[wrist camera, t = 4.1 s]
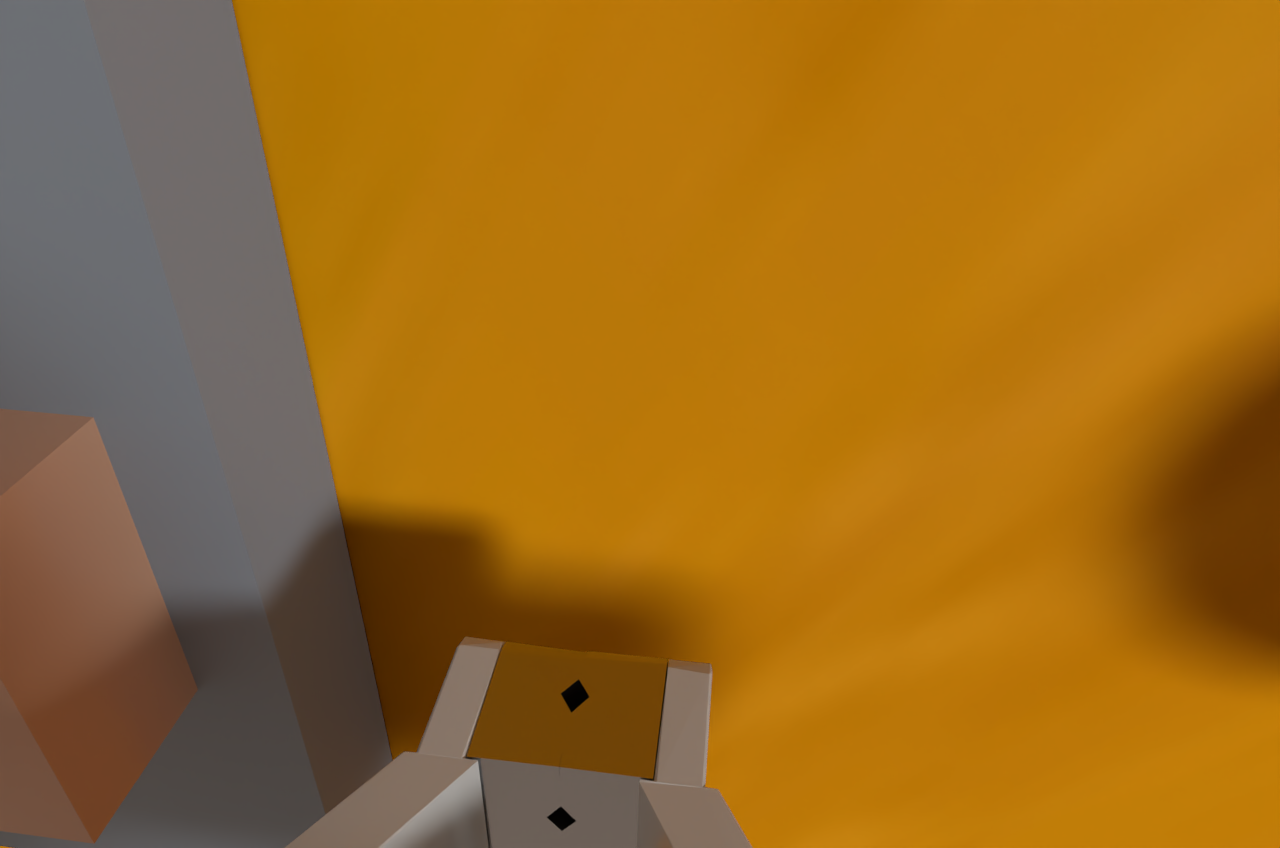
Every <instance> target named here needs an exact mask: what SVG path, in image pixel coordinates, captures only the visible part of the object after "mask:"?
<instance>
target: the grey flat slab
mask: <svg viewBox="0 0 1280 848" xmlns="http://www.w3.org/2000/svg"><path fill="white" fill-rule="evenodd" d="M0 409H10V410H21V411H32V412H42V413H53V414H64V415H75V416H86V417H94V420H95V423H96V425H97V428H98V430H99V433H100V436H101V438H102V441H103V443H104V446H105V449H106V451H107V454H108V456H109V459H110V462H111V464H112V467H113V470H114V472H115V475H116V477H117V480H118V483H119V485H120V488H121V490H122V493H123V496H124V498H125V501H126V503H127V506H128V509H129V511H130V514H131V516H132V519H133V522H134V524H135V527H136V529H137V532H138V535H139V537H140V540H141V542H142V545H143V548H144V550H145V553H146V555H147V558H148V561H149V563H150V566H151V569H152V571H153V574H154V576H155V579H156V582H157V584H158V587H159V589H160V592H161V595H162V597H163V600H164V602H165V605H166V608H167V610H168V613H169V615H170V618H171V621H172V623H173V626H174V628H175V631H176V634H177V636H178V639H179V641H180V644H181V647H182V649H183V652H184V654H185V657H186V660H187V662H188V665H189V667H190V670H191V673H192V675H193V678H194V681H195V683H196V686H197V688H198V690H197V692H196V693H195V695H194V696H193V698H192V699H191V701H190V702H189V704H188V705H187V707H186V708H185V710H184V711H183V713H182V714H181V716H180V717H179V718H178V720H177V721H176V723H175V724H174V726H173V727H172V729H171V730H170V732H169V733H168V735H167V736H166V738H165V739H164V741H163V742H162V744H161V745H160V747H159V748H158V750H157V751H156V753H155V754H154V756H153V757H152V759H151V760H150V762H149V763H148V765H147V766H146V768H145V769H144V771H143V772H142V774H141V775H140V777H139V778H138V780H137V781H136V782H135V784H134V785H133V787H132V788H131V790H130V791H129V793H128V794H127V796H126V797H125V799H124V800H123V802H122V803H121V805H120V806H119V808H118V809H117V811H116V812H115V814H114V815H113V817H112V818H111V820H110V821H109V823H108V824H107V826H106V827H105V829H104V830H103V832H102V833H101V835H100V836H99V838H98V839H97V841H96V842H95V844H93V843H85V842H78V841H70V840H63V839H56V838H48V837H41V836H33V835H26V834H19V833H11V832H4V831H0V846H6V847H13V848H285V847H286V846H287V845H289V844H290V843H291V842H292V841H294V840H295V839H296V838H297V837H298V836H300V835H301V834H302V833H303V832H305V831H306V830H307V829H308V828H310V827H311V826H312V825H313V824H315V823H316V822H317V821H318V820H320V819H321V818H322V817H323V816H324V815H326V814H327V813H328V812H329V811H331V810H332V809H333V808H334V807H336V806H337V805H338V804H339V803H341V802H342V801H343V800H344V799H346V798H347V797H348V796H349V795H350V794H352V793H353V792H354V791H355V790H357V789H358V788H359V787H360V786H362V785H363V784H364V783H365V782H367V781H368V780H369V779H370V778H371V777H373V776H374V775H375V774H376V773H378V772H379V771H380V770H381V769H383V768H384V767H385V766H386V765H388V764H389V763H390V762H391V761H393V760H392V756H391V751H390V746H389V742H388V737H387V732H386V727H385V723H384V718H383V713H382V708H381V704H380V699H379V694H378V690H377V685H376V680H375V675H374V671H373V666H372V661H371V656H370V652H369V647H368V642H367V638H366V633H365V628H364V623H363V619H362V614H361V609H360V604H359V600H358V595H357V590H356V586H355V581H354V576H353V571H352V567H351V562H350V557H349V552H348V548H347V543H346V538H345V533H344V529H343V524H342V519H341V515H340V510H339V505H338V500H337V496H336V491H335V486H334V481H333V477H332V472H331V467H330V463H329V458H328V453H327V448H326V444H325V439H324V434H323V429H322V425H321V420H320V415H319V411H318V406H317V401H316V396H315V392H314V387H313V382H312V377H311V373H310V368H309V363H308V359H307V354H306V349H305V344H304V340H303V335H302V330H301V325H300V321H299V316H298V311H297V307H296V302H295V297H294V292H293V288H292V283H291V278H290V273H289V269H288V264H287V259H286V255H285V250H284V245H283V240H282V236H281V231H280V226H279V221H278V217H277V212H276V207H275V203H274V198H273V193H272V188H271V184H270V179H269V174H268V169H267V165H266V160H265V155H264V151H263V146H262V141H261V136H260V132H259V127H258V122H257V117H256V113H255V108H254V103H253V99H252V94H251V89H250V84H249V80H248V75H247V70H246V65H245V61H244V56H243V51H242V47H241V42H240V37H239V32H238V28H237V23H236V18H235V13H234V9H233V4H232V0H0Z"/></svg>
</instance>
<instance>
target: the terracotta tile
mask: <svg viewBox="0 0 1280 848" xmlns="http://www.w3.org/2000/svg"><path fill="white" fill-rule="evenodd" d="M197 690H198V688H197V686H196V683H195V681H194V678H193V675H192V673H191V670H190V667H189V665H188V662H187V660H186V657H185V654H184V652H183V649H182V647H181V644H180V641H179V639H178V636H177V634H176V631H175V628H174V626H173V623H172V621H171V618H170V615H169V613H168V610H167V608H166V605H165V602H164V600H163V597H162V595H161V592H160V589H159V587H158V584H157V582H156V579H155V576H154V574H153V571H152V569H151V566H150V563H149V561H148V558H147V555H146V553H145V550H144V548H143V545H142V542H141V540H140V537H139V535H138V532H137V529H136V527H135V524H134V522H133V519H132V516H131V514H130V511H129V509H128V506H127V503H126V501H125V498H124V496H123V493H122V490H121V488H120V485H119V483H118V480H117V477H116V475H115V472H114V470H113V467H112V464H111V462H110V459H109V456H108V454H107V451H106V449H105V446H104V443H103V441H102V438H101V436H100V433H99V430H98V428H97V425H96V423H95V420H94V417H86V416H75V415H64V414H53V413H42V412H32V411H21V410H10V409H0V831H4V832H11V833H19V834H26V835H33V836H41V837H48V838H56V839H63V840H70V841H78V842H85V843H93V844H95V842H96V841H97V839H98V838H99V836H100V835H101V833H102V832H103V830H104V829H105V827H106V826H107V824H108V823H109V821H110V820H111V818H112V817H113V815H114V814H115V812H116V811H117V809H118V808H119V806H120V805H121V803H122V802H123V800H124V799H125V797H126V796H127V794H128V793H129V791H130V790H131V788H132V787H133V785H134V784H135V782H136V781H137V780H138V778H139V777H140V775H141V774H142V772H143V771H144V769H145V768H146V766H147V765H148V763H149V762H150V760H151V759H152V757H153V756H154V754H155V753H156V751H157V750H158V748H159V747H160V745H161V744H162V742H163V741H164V739H165V738H166V736H167V735H168V733H169V732H170V730H171V729H172V727H173V726H174V724H175V723H176V721H177V720H178V718H179V717H180V716H181V714H182V713H183V711H184V710H185V708H186V707H187V705H188V704H189V702H190V701H191V699H192V698H193V696H194V695H195V693H196V692H197Z"/></svg>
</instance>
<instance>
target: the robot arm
mask: <svg viewBox="0 0 1280 848" xmlns="http://www.w3.org/2000/svg"><path fill="white" fill-rule="evenodd" d="M711 685H712V666H711V664H708V663H699V662H689V661H680V660H671V659H670V660H669V665H668V659H667V658H657V657H646V656H636V655H625V654H615V653H605V652H594V651H587V652H582V651H574V650H567V649H560V648H552V647H545V646H537V645H530V644H523V643H515V642H508V641H506V642H505V641H497V640H489V639H481V638H473V637H464V639H463V640H462V641H461V643H460V644H459V645H458V647H457V648H456V651H455V654H454V656H453V659H452V661H451V664H450V667H449V669H448V672H447V674H446V677H445V680H444V682H443V685H442V687H441V690H440V693H439V695H438V698H437V700H436V703H435V706H434V708H433V711H432V713H431V716H430V718H429V721H428V724H427V726H426V729H425V731H424V734H423V737H422V739H421V742H420V744H419V747H418V750H417V752H408V751H404V752H402V753H401V754H400V755H399V756H397V757H396V758H395V759H394V760H393V761H391V762H390V763H389V764H388V765H386V766H385V767H384V768H383V769H381V770H380V771H379V772H378V773H376V774H375V775H374V776H373V777H371V778H370V779H369V780H368V781H367V782H365V783H364V784H363V785H362V786H360V787H359V788H358V789H357V790H355V791H354V792H353V793H352V794H350V795H349V796H348V797H347V798H346V799H344V800H343V801H342V802H341V803H339V804H338V805H337V806H336V807H334V808H333V809H332V810H331V811H329V812H328V813H327V814H326V815H324V816H323V817H322V818H321V819H320V820H318V821H317V822H316V823H315V824H313V825H312V826H311V827H310V828H308V829H307V830H306V831H305V832H303V833H302V834H301V835H300V836H298V837H297V838H296V839H295V840H294V841H292V842H291V843H290V844H289V845H287V846H286V847H285V848H752V846H751V844H750V843H749V841H748V839H747V838H746V836H745V834H744V832H743V831H742V829H741V827H740V826H739V824H738V822H737V820H736V819H735V817H734V815H733V814H732V812H731V810H730V809H729V807H728V805H727V803H726V802H725V800H724V798H723V797H722V795H721V793H720V792H719V790H718V789H714V788H707V787H705V782H706V766H707V750H708V733H709V717H710V701H711Z"/></svg>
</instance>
